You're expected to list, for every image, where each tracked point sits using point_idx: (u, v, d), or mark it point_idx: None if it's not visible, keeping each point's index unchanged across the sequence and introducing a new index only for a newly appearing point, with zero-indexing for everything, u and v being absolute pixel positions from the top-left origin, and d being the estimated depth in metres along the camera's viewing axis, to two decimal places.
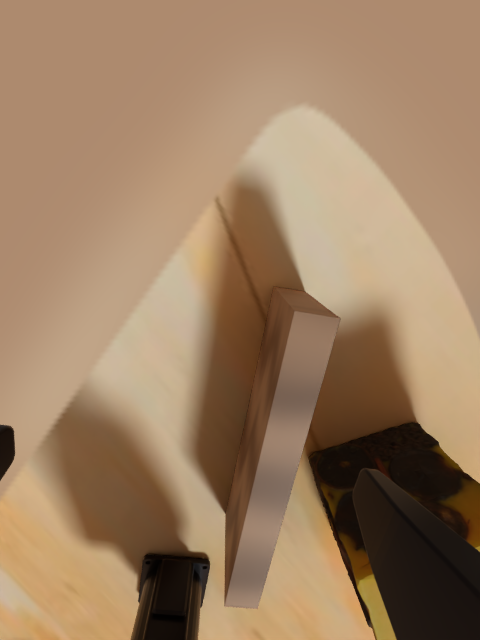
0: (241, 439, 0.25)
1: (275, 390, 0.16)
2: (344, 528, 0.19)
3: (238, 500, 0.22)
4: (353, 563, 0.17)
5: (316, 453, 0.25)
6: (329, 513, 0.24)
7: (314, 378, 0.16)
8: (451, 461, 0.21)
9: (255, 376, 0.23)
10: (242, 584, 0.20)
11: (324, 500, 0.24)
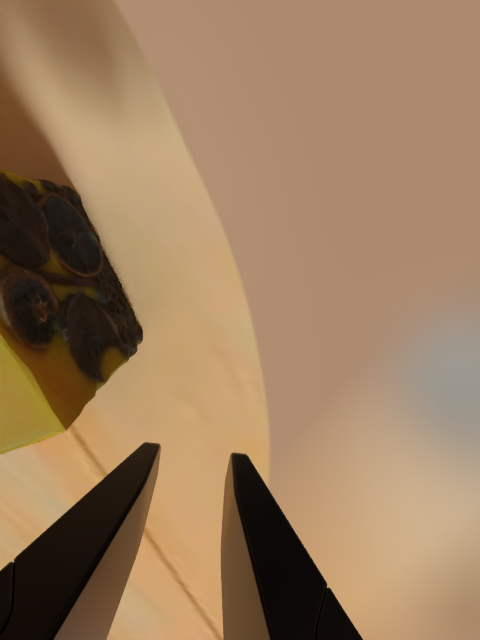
0: None
1: None
2: None
3: None
4: None
5: None
6: None
7: None
8: None
9: None
10: None
11: None
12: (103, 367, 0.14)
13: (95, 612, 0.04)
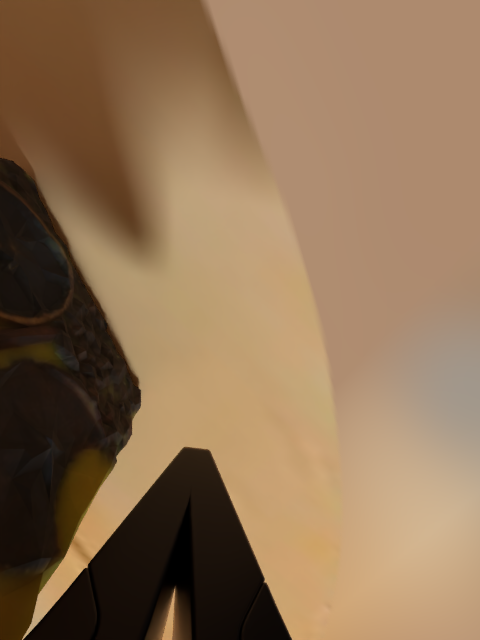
0: None
1: None
2: None
3: None
4: None
5: None
6: None
7: None
8: None
9: None
10: None
11: None
12: (63, 511, 0.07)
13: (160, 616, 0.04)
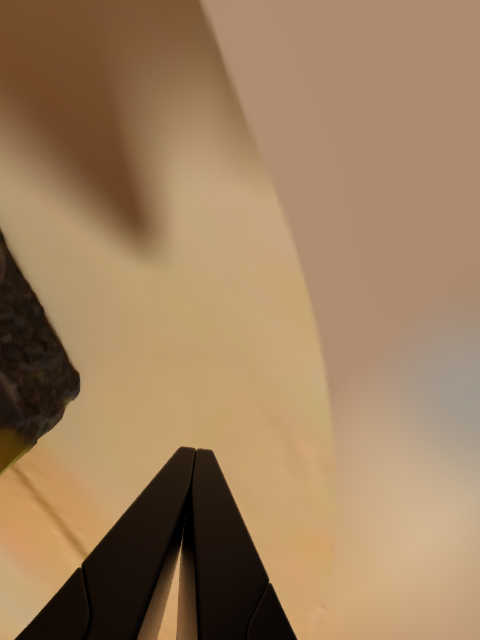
0: None
1: None
2: None
3: None
4: None
5: None
6: None
7: None
8: None
9: None
10: None
11: None
12: None
13: (155, 616, 0.04)
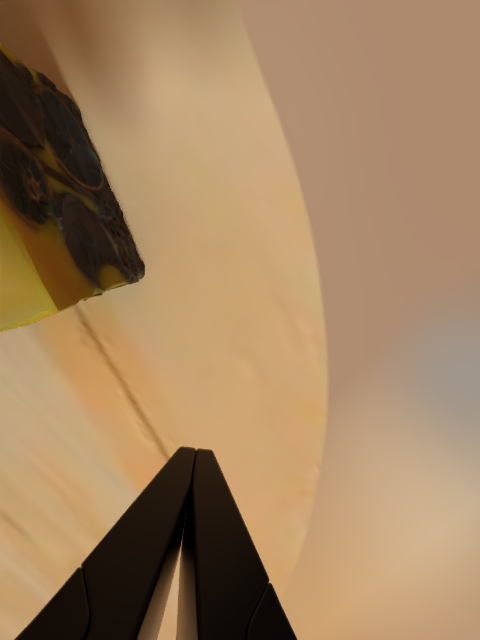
0: None
1: None
2: None
3: None
4: None
5: None
6: None
7: None
8: None
9: None
10: None
11: None
12: (102, 278, 0.12)
13: (155, 616, 0.04)
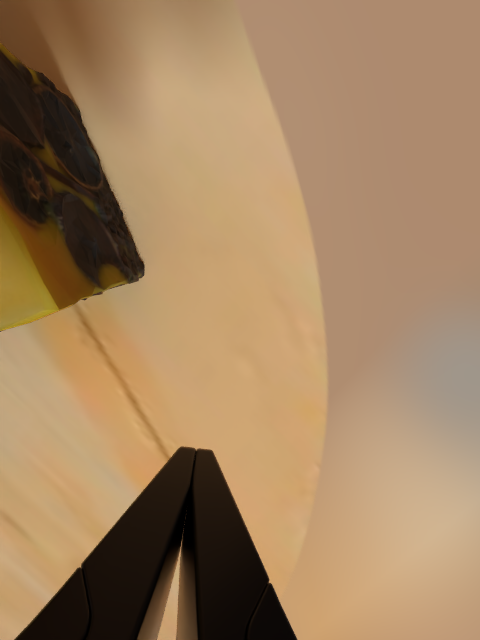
0: None
1: None
2: None
3: None
4: None
5: None
6: None
7: None
8: None
9: None
10: None
11: None
12: (102, 277, 0.12)
13: (155, 616, 0.04)
